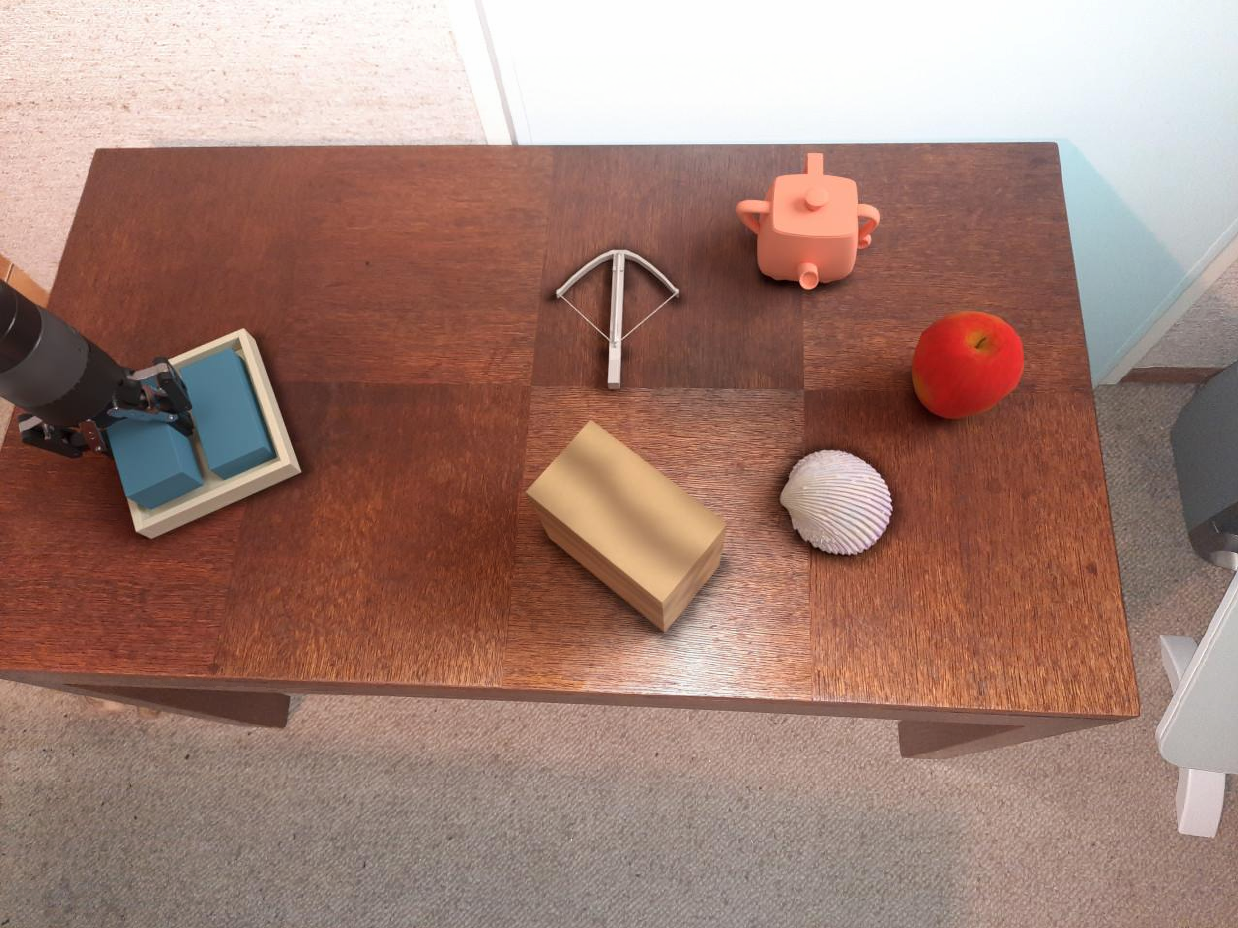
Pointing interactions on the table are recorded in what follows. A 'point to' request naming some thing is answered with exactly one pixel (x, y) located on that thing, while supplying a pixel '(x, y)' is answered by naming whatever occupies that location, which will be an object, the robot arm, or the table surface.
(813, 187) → the teapot
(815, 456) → the seashell
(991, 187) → the table surface
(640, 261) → the crossbow
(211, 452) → the blue brick
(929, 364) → the apple
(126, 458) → the blue rectangular block
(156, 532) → the cream tray
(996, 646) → the table surface
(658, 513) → the tan wooden block
